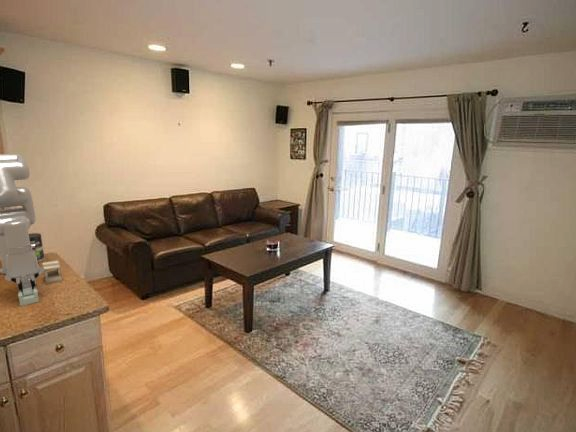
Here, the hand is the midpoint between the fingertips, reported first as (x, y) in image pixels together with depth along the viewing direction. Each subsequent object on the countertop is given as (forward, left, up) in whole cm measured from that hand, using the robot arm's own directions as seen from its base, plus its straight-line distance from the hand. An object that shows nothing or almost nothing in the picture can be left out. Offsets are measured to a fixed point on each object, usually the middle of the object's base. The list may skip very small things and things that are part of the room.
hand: (27, 289), depth 140 cm
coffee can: (-51, +4, -4) cm, 51 cm away
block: (-16, +10, -4) cm, 19 cm away
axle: (-4, 0, 0) cm, 4 cm away
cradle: (-2, 0, -4) cm, 4 cm away
